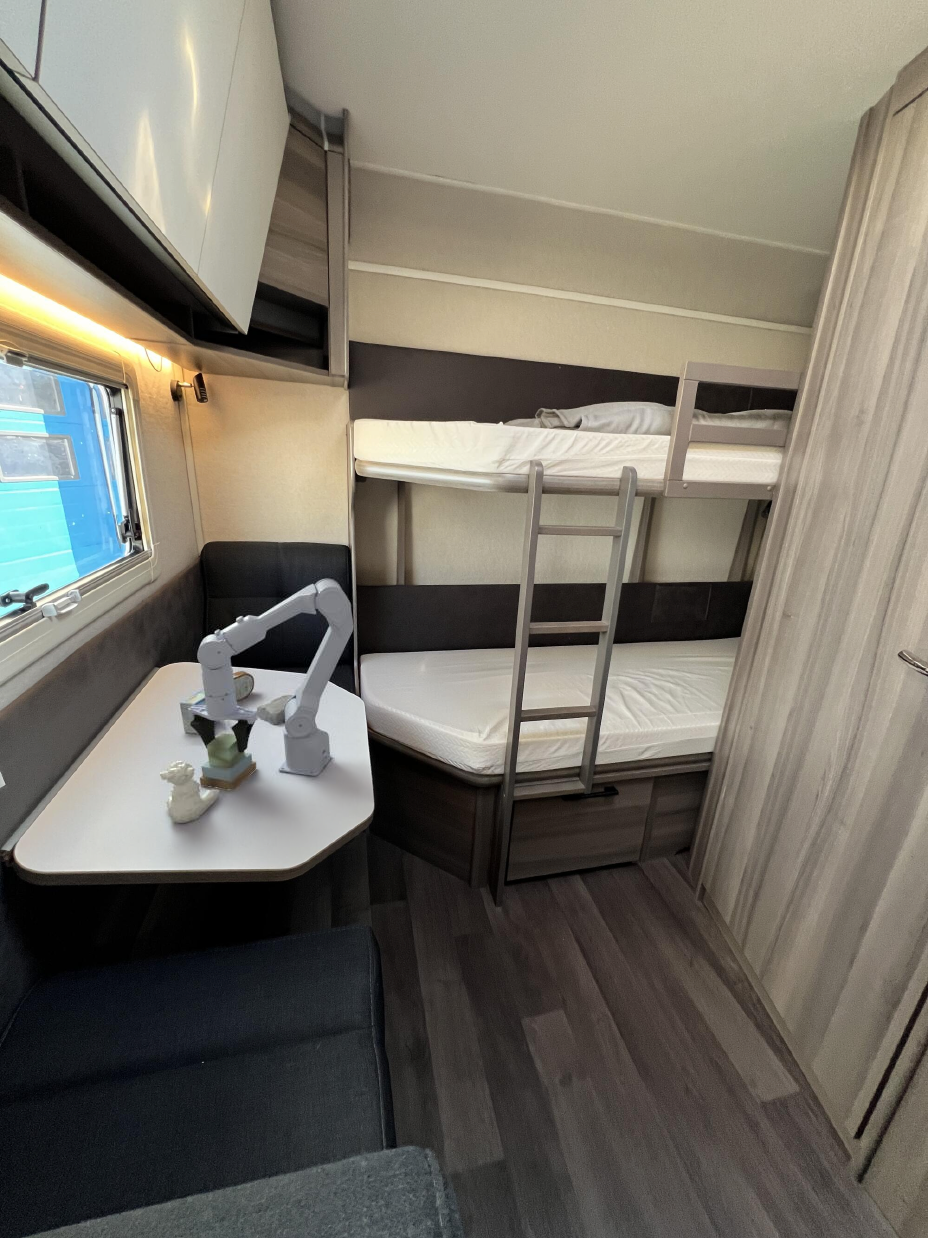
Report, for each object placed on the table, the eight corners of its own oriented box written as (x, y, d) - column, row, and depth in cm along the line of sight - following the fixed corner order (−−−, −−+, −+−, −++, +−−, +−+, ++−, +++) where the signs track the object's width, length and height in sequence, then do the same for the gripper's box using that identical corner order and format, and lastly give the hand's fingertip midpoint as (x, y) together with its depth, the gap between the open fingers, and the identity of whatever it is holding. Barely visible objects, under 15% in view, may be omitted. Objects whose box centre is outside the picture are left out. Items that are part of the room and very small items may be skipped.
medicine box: (198, 734, 119) (194, 704, 117) (183, 732, 120) (179, 702, 118) (220, 720, 127) (216, 691, 124) (205, 718, 127) (201, 689, 125)
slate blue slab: (252, 763, 105) (251, 753, 104) (231, 781, 99) (229, 771, 98) (225, 758, 107) (224, 749, 106) (202, 776, 100) (201, 766, 99)
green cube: (244, 754, 104) (242, 735, 102) (231, 768, 99) (228, 747, 98) (223, 752, 104) (221, 733, 103) (209, 765, 100) (206, 745, 98)
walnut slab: (256, 771, 106) (255, 761, 106) (234, 793, 99) (233, 783, 98) (225, 766, 108) (224, 757, 107) (200, 787, 100) (199, 778, 99)
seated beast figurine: (221, 795, 97) (214, 744, 94) (212, 823, 89) (204, 769, 86) (169, 802, 95) (161, 750, 91) (155, 831, 87) (145, 776, 83)
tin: (250, 691, 144) (247, 666, 142) (257, 694, 143) (254, 668, 140) (205, 711, 131) (201, 684, 128) (213, 714, 130) (209, 686, 127)
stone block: (254, 723, 130) (276, 726, 124) (250, 706, 129) (273, 709, 124) (289, 708, 140) (311, 710, 134) (286, 692, 139) (308, 695, 134)
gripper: (262, 686, 100) (268, 742, 104) (201, 680, 102) (208, 735, 106) (243, 701, 93) (249, 759, 97) (177, 694, 95) (186, 752, 99)
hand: (226, 748), depth 101 cm, fingers open, 7 cm apart
